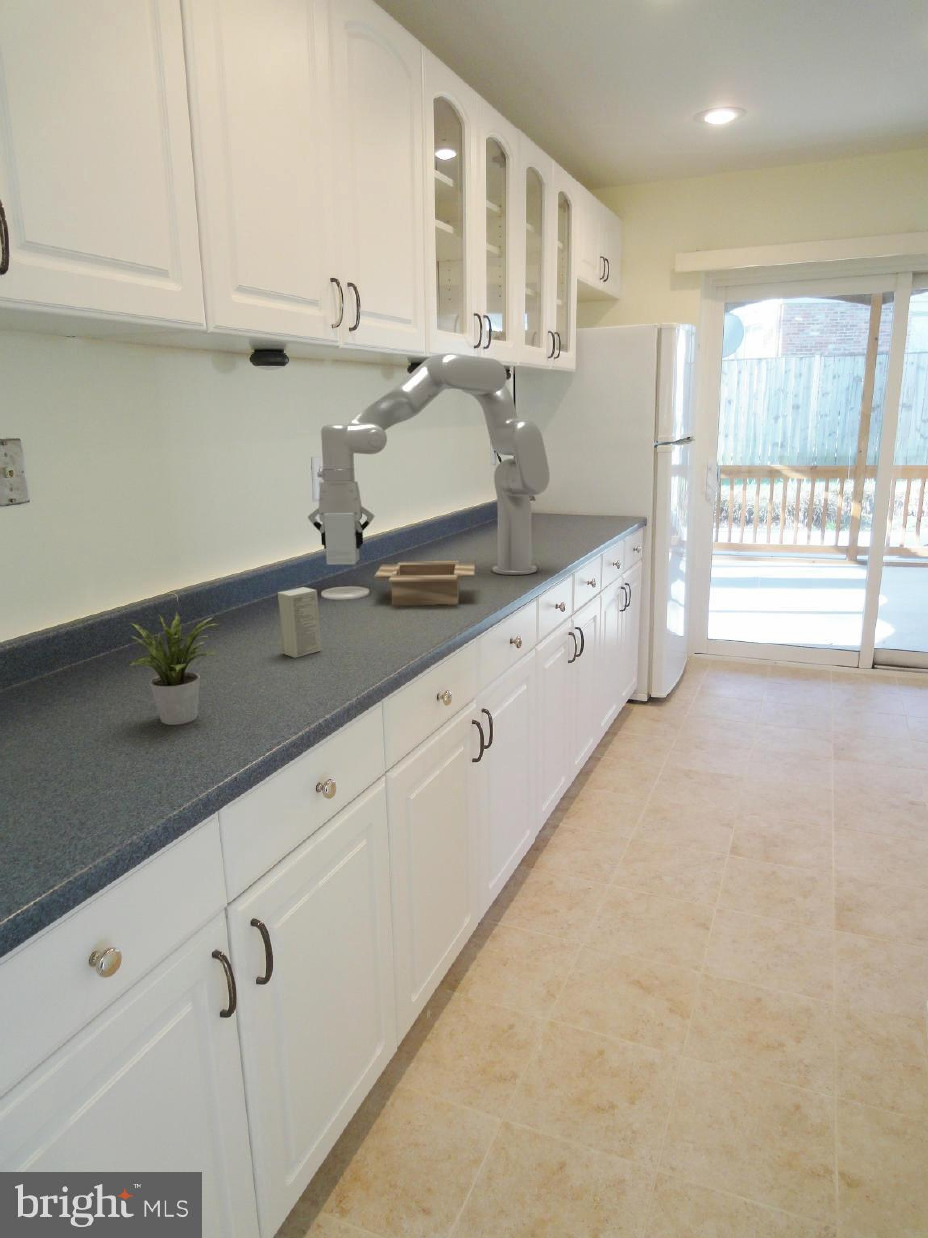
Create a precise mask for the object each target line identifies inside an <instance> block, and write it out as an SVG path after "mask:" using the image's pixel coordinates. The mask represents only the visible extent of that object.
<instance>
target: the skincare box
mask: <svg viewBox="0 0 928 1238" xmlns="http://www.w3.org/2000/svg"><path fill="white" fill-rule="evenodd" d="M277 599H278V601H277V602H278V610H279V611H278V612H279V623H280V624H279V625H280V636H281V637H280V638H281V639H280V640H281V648H282V650H281V651H282V655H283V654H284V655H285V656H289V657H291V658H295V659H296V658H299V657H303V656H307V655H310V654H314V653H317V652H320V651H321V650H322V646H321V634H320V619H319V618H320V617H319V615H320V614H319V604H318V602H319V601H318V590H317V589H313V588H310V587H306V586H302V587H296V588H292V589H288V590H283V591H278V592H277Z"/></svg>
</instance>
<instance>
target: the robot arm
mask: <svg viewBox="0 0 928 1238" xmlns="http://www.w3.org/2000/svg"><path fill="white" fill-rule="evenodd" d="M507 377H508V375H507V370H506V368H505V366H504V365H503V364H502V362H500V361H499V360H498V359H495V358H491V357H485V356H484V357H481V356H476V355H475V356H474V355H468V354H460V353H442V354H437V355H435V354H434V355H432V356H429V357H428V358H427V359H425V360H424V361H423V362H422V363H420V365H419V366H417V367H416V368H415V369H414V370H413V371H412V372H411V373H409V374H408V375H407V376H406V377H405V378H404V379H403V380H402V381H401V382H400V383H399V384H398V385H396V386H395V387H393V388H392V389H391V390H390V391H389V392H387V393H385V394H384V395H382V396H381V397H380V398H379V399H377V400H376V401H374V402H372V403H371V404H370V405H368V406H366V407H365V409H363V410H362V411H361V412H359V413H358V414H357V415H355V417H353V419H352V420H351V421H349V423H347V424H326V425H323V426H322V427H321V430H320V434H321V435H320V437H321V452H322V453H321V455H322V470H321V471H317V478H321V479H322V482H320V484H319V485H320V486H319V492H318V493H319V494H318V495H319V496H318V507H317V508H316V509H315V510H314V511H312V512H311V513H310V514H309V515H308V516H307V519H308V521H309V522H310V523H311V524H312V525H313V527H314V528H316V529H317V530H318V532H319V533H320V536H321V546H323V548H324V550H326V539H325V520H324V514H328V513H354V523H355V524H356V529H357V533H356V548H357V549H359V550H360V549H361V547H362V546H363V545H364V535H363V534H364V530H365V529H366V528H367V527H368V526H369V525H370V524H371V522H372V521H373V520H374V518H375V515H374V513H372V512H370V511H369V510H368V509H367V508H365V506H363V505H362V498H361V492H360V487H359V483H358V481H356V479H355V458H354V456H355V455H354V454H361V455H376V454H379V453H380V452H382V451H383V450H384V449H385V447H386V445H387V441H388V436H387V432H386V430H388V429H389V428H391V427H393V426H395V425H397V424H399V423H402V422H407V421H409V420H410V419H412V418H414V417H416V416H418V415H419V414H420V413H421V412H422V411H423V410H424V409H425V408H426V407H427V406H429V404H430V403H432V402H433V400H435V399H436V398H437V397H438V396H439V395H440V394H441V393H443V391H445V390H451V389H452V390H453V389H455V390H461V391H462V392H464V393H465V394H468V395H471V396H472V397H473V398H475V400H477V402H478V403H479V405H480V406H481V409H482V411H483V414H484V419H485V423H486V427H487V432H488V437H489V440H490V444H491V447H492V449H493V451H494V452H495V453H497V454H498V455H502V456H513V457H514V458H507V459H504V460H502V461H501V462H499V463H498V465H497V466H496V468H495V469H494V474H493V482H494V488H495V493H496V502H497V503H496V504H497V565H493V566H492V572H493V573H495V574H500V575H508V576H509V575H510V576H513V575H514V576H519V575H529V574H534V573H536V572H537V571H538V569H537V568H538V567H537V566H536V565H534V564H532V516H533V515H532V514H533V513H532V503H531V498H530V496H539V495H541V494H542V493H543V492H545V491H546V490H547V488H548V487H549V483H550V467H549V462H548V458H547V454H546V447H545V444H544V439H543V434H542V432H541V431H540V428H539V427H538V425H536V424H535V422H532V421H531V420H529V419H522V418H521V419H519V417H518V414H517V413H518V412H517V409H516V406H515V402H514V398H513V396H512V393H511V392H510V389H509V388H508V387H507V386H506V382H507ZM363 515H364V516H365V517H366V519H365V521H364V522H363V523H362V522H361V520H362V519H363ZM317 517H319V521H320V522H319V521H318V519H317Z"/></svg>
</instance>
